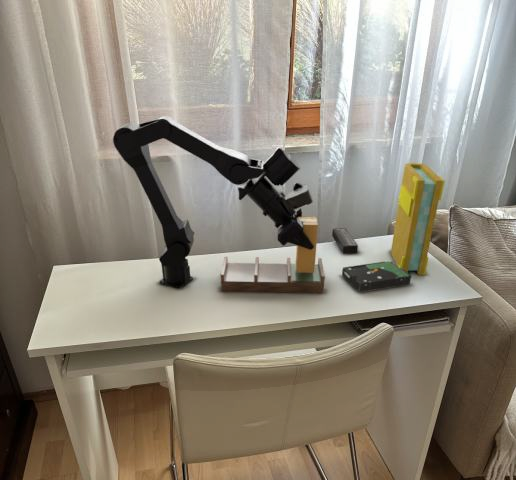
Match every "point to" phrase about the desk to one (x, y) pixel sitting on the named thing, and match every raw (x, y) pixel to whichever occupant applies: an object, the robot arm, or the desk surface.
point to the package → (304, 255)
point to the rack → (270, 277)
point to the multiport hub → (344, 240)
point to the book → (416, 217)
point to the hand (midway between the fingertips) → (311, 243)
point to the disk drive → (375, 276)
